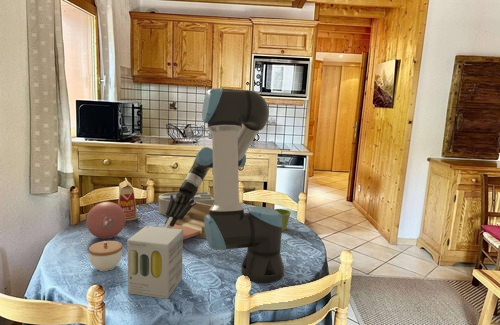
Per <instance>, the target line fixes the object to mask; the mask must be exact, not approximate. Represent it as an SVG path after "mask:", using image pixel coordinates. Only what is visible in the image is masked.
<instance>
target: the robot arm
mask: <svg viewBox="0 0 500 325" xmlns="http://www.w3.org/2000/svg"><path fill="white" fill-rule="evenodd" d="M205 93H206V94H205V96H204V100H203V104H202V112H201V117H202V118H201V119H202V122H203V123H204V124H207V130H208V131H209V132H210V133H211V134H212V136H211V137H212V139H211V140H212V148H211V147H209V146H204V147H202V148H200V149H199V150H198V152H197V153H196V156H195V159H194V161H193V164H192V165H191V167H190V169H189V171H188V173H187V175H186V176H185V178H184V180H183V182H182V183H181V184H180V186H179V191H178V192H176V193H177V194H176V195H174V196H173V195H171V196H170V202H169V205H168V208H167V211H166V215H167V216H166V217H167V218H166V220H165V223H164V224H165V225H163V226H164V228H172V227H173V226H174V225H175V223H176V221H177V220H182V219H183V218H184V216H185V215H186V214H187V213H188V211H189V210H190V209H191V208H192V206H194V205H195V204H196V202H195V201H194V200H193V198H194V196H195V195H196V193H197V192H199V189H200V187H201V185H202V183H203V181H204V179H205V178H206V176H207V173H208V172H209V170H210V169H212V180H213V182H212V184H213V185H212V186H213V192H212V193H213V199H214V203H213V206H212V207H211V208H210V209H209V215H207V216H205V218H204V227H205V233H206V238H205V239H206V242H207V243H208V245H209V247H210V248H211V249H212V250H214V251H227V250H233V249H234V250H236V249H247V250H246V254H245V256H244V258H243V260H242V263H241V274H242V276H243V275H245V276H248V277H249V278H250V280H249V281H252V282H256V283H262V284H263V283H265V284H267V283H274V282H277V281H279V280H281V279H283V277H284V276H285V274H284V273H285V267H284V262H283V259H282V253H281V247H282V233H283V231H282V227H283V225H282V215H281V214H280V213H279V212H278V211H276V210H274V209H272V208H269V207H265V206H252V207H250V208H249V210H248V212H245V210H244V206H242V205H241V203H240V186H239V182H240V181H239V179H240V178H239V168H244V167H245V166H246V162H247V156H246V155H247V154H246V153H247V152H248V150H249V148H250V146H251V145H252V143H253V142H254V140H255V138H256V136H257V134H258V133H259V131H261V130H263V129H264V128H265V126H266V125H267V124H268V121H269V115H270V111H269V110H270V109H269V105H268V104H267V101H266V100H265V98H264V97H263V96H262V95H261V94H259V93H258V92H257V91H254V90H252V89H251V90H249V89H232V88H225V87H224V88H222V87H220V88H210V89H208V90H207V92H205ZM176 198H177V199H176Z"/></svg>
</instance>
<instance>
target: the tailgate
mask: <svg viewBox="0 0 500 325" xmlns="http://www.w3.org/2000/svg"><path fill="white" fill-rule="evenodd" d="M164 226H165V225H161V227H164ZM171 229H181V230H183V241H184V240H186V239H189V238H191V237H196V236H195V235H197V234H200V230H196V229H192V228H188V227H184V226H180V225H176V224H175V225H174V226H173V227H172V228H171Z"/></svg>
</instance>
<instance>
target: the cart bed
mask: <svg viewBox="0 0 500 325" xmlns="http://www.w3.org/2000/svg"><path fill="white" fill-rule="evenodd" d="M212 206H213V205H209V204H204V203H199V202H196V204H195V205H194V206H192V208H191V209H190V210H189V211H188V213H187V214H186V215H185V216H184V218H183V219H182V220H177V221H176V223H175V224H176V225H180V226H184V227H188V228H192V229H196V230H200V234H197V235H195V236H194V237H197V238H201V239H207V238H206V233H205V227H204V218H205V216H207V215H209V209H210V208H211V207H212Z"/></svg>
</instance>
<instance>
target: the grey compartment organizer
mask: <svg viewBox="0 0 500 325" xmlns="http://www.w3.org/2000/svg"><path fill="white" fill-rule="evenodd" d="M177 193H178V192H166V193H162V194H160V195H158V212H159V214H161V215H162V216H165V217H168V216H167V215H166V211H167V208H168V205H169V202H170V196H171V195H173V196H174V195H176V194H177ZM176 199H177V198H176ZM193 200H194V201H195V202H199V203H204V204H209V205H213V204H214V197H213V196H211V193H210V192H209V191H197V193H196V195H195V196H194V198H193Z"/></svg>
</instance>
